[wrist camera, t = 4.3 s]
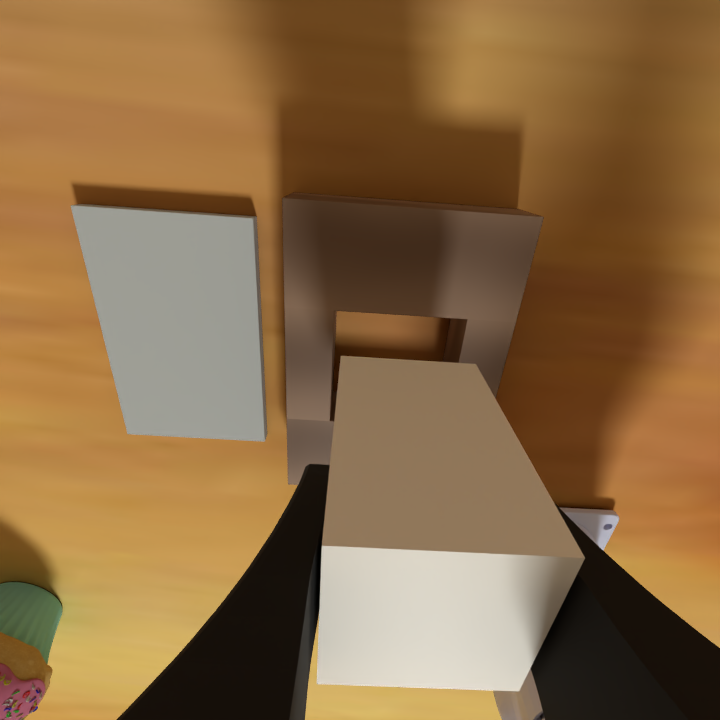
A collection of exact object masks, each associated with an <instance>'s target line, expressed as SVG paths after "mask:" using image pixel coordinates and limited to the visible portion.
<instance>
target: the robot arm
mask: <svg viewBox="0 0 720 720" xmlns="http://www.w3.org/2000/svg"><path fill="white" fill-rule="evenodd" d="M329 468H330V465H324V464H309V465H307V466H306V467H305V469H304V472H303V475H302V477H301V479H300V482H299V484H298V486H297V488H296V490H295V492H294V494H293V496H292V498H291V500H290V502H289V504H288V506H287V507H286V509H285V511H284V513H283V514H282V516H281V518H280V519H279V521H278V523H277V525H276V526H275V528H274V530H273V531H272V533H271V535H270V536H269V538H268V539H267V541H266V542H265V544H264V545H263V547H262V548H261V550H260V551H259V553H258V554H257V556H256V557H255V559H254V560H253V562H252V563H251V565H250V566H249V567H248V569H247V570H246V572H245V573H244V574H243V576H242V577H241V579H240V580H239V581H238V583H237V584H236V585H235V587H234V588H233V589H232V591H231V592H230V593H229V594H228V596H227V597H226V598H225V600H224V601H223V602H222V603H221V605H220V606H219V607H218V608H217V610H216V611H215V612H214V613H213V614H212V616H211V617H210V618H209V619H208V620H207V622H206V623H205V624H204V625H203V626H202V628H201V629H200V630H199V631H198V632H197V634H196V635H195V636H194V637H193V638H192V640H191V641H190V642H189V643H188V644H187V645H186V646H185V648H184V649H183V650H182V651H181V652H180V653H179V654H178V655H177V657H176V658H175V659H174V660H173V661H172V662H171V663H170V664H169V665H168V666H167V667H166V668H165V669H164V670H163V672H162V673H161V674H160V675H159V676H158V677H157V678H156V679H155V680H154V681H153V682H152V683H151V684H150V685H149V686H148V687H147V689H146V690H145V691H144V692H143V693H142V694H141V695H140V696H139V697H138V698H137V699H136V700H135V701H134V702H133V703H132V704H131V706H130V707H129V708H128V709H127V710H126V711H125V712H124V713H123V714H122V715H121V716H120V717H119V718H118V719H117V720H305V710H306V700H307V689H308V679H309V671H310V664H311V657H312V651H313V645H314V639H315V633H316V627H317V621H318V615H319V609H320V581H321V552H322V538H323V528H324V518H325V508H326V498H327V488H328V478H329ZM554 504H555V503H554ZM555 505H556V504H555ZM556 507H557V509H558V511H559V513H560V514H561V516H562V518H563V520H564V521H565V523H566V525H567V527H568V529H569V530H570V532H571V534H572V536H573V537H574V539H575V541H576V543H577V545H578V546H579V548H580V550H581V552H582V553H583V555H584V557H585V559H584V561H583V563H582V565H581V567H580V569H579V571H578V573H577V575H576V577H575V579H574V581H573V583H572V586H571V588H570V590H569V592H568V594H567V596H566V598H565V600H564V602H563V604H562V606H561V608H560V610H559V612H558V614H557V616H556V618H555V620H554V622H553V624H552V626H551V628H550V630H549V632H548V634H547V636H546V638H545V640H544V642H543V644H542V646H541V648H540V650H539V652H538V654H537V656H536V658H535V660H534V662H533V664H532V666H531V668H530V670H529V672H528V674H527V676H526V678H525V680H524V682H523V684H522V686H521V688H520V690H519V691H494V690H493V693H494V697H495V701H496V704H497V707H498V710H499V713H500V716H501V718H502V720H720V648H719V647H717V646H716V645H715V644H714V643H712V642H711V641H710V640H708V639H707V638H706V637H704V636H703V635H702V634H700V633H699V632H698V631H697V630H695V629H694V628H693V627H692V626H690V625H689V624H688V623H687V622H685V621H684V620H683V619H682V618H680V617H679V616H678V615H677V614H675V613H674V612H673V611H672V610H670V609H669V608H668V607H667V606H665V605H664V604H663V603H662V602H661V601H659V600H658V599H657V598H656V597H655V596H653V595H652V594H651V593H650V592H649V591H647V590H646V589H645V588H644V587H643V586H642V585H641V584H639V583H638V582H637V581H636V580H635V579H634V578H633V577H632V576H631V575H629V574H628V573H627V572H626V571H625V570H624V569H623V568H622V567H620V566H619V565H618V564H617V563H616V562H615V561H614V560H613V559H612V558H611V557H609V556H608V555H607V554H606V553H605V552H604V551H603V550H604V548H605V546H606V544H607V542H608V540H609V538H610V536H611V534H612V533H613V531H614V529H615V527H616V525H617V523H618V521H619V516H618V515H617V514H616V512H615V511H612V510H599V509H579V508H559V507H558V506H557V505H556Z"/></svg>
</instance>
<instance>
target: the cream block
mask: <svg viewBox="0 0 720 720" xmlns="http://www.w3.org/2000/svg"><path fill="white" fill-rule="evenodd" d="M584 559H585V557H584V555H583V553H582V552H581V550H580V548H579V546H578V545H577V543H576V541H575V539H574V537H573V536H572V534H571V532H570V530H569V529H568V527H567V525H566V523H565V521H564V520H563V518H562V516H561V514H560V513H559V511H558V509H557V507H556V505H555V504H554V502H553V500H552V498H551V497H550V495H549V493H548V491H547V490H546V488H545V486H544V484H543V482H542V481H541V479H540V477H539V475H538V474H537V472H536V470H535V468H534V466H533V465H532V463H531V461H530V459H529V458H528V456H527V454H526V452H525V450H524V449H523V447H522V445H521V443H520V442H519V440H518V438H517V436H516V434H515V433H514V431H513V429H512V427H511V426H510V424H509V422H508V420H507V418H506V417H505V415H504V413H503V411H502V410H501V408H500V406H499V404H498V402H497V401H496V399H495V397H494V395H493V394H492V392H491V390H490V388H489V387H488V385H487V383H486V381H485V379H484V378H483V376H482V374H481V372H480V371H479V369H478V367H477V365H476V364H468V363H452V362H436V361H419V360H403V359H387V358H371V357H354V356H341V359H340V369H339V379H338V389H337V399H336V409H335V419H334V429H333V438H332V448H331V458H330V468H329V478H328V488H327V498H326V508H325V518H324V528H323V538H322V552H321V581H320V609H319V637H318V666H317V684H330V685H357V686H385V687H412V688H440V689H467V690H494V691H519V690H520V688H521V686H522V684H523V682H524V680H525V678H526V676H527V674H528V672H529V670H530V668H531V666H532V664H533V662H534V660H535V658H536V656H537V654H538V652H539V650H540V648H541V646H542V644H543V642H544V640H545V638H546V636H547V634H548V632H549V630H550V628H551V626H552V624H553V622H554V620H555V618H556V616H557V614H558V612H559V610H560V608H561V606H562V604H563V602H564V600H565V598H566V596H567V594H568V592H569V590H570V588H571V586H572V583H573V581H574V579H575V577H576V575H577V573H578V571H579V569H580V567H581V565H582V563H583V561H584Z"/></svg>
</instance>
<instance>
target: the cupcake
mask: <svg viewBox="0 0 720 720" xmlns="http://www.w3.org/2000/svg"><path fill="white" fill-rule="evenodd" d="M61 615H62V606H61V603H60V602H59V600H58V599H57V598H56V597H55V596H54V595H53V594H51V593H50V592H48V591H46V590H45V589H43V588H40V587H38V586H35V585H32V584H28V583H22V582H7V583H2V584H0V720H24V719H25V717H26V716H28V714H29V713H32V712H34V711H36V710H37V708H38V707H37V705H38V704H39V703H40V702H41V700H42V699H43V697H44V695H45V693H46V691H47V689H48V687H49V684H50V678H51V675H52V668H51V667H50V666H49V665H47V663H48V657H49V653H50V649H51V645H52V642H53V638H54V635H55V632H56V629H57V626H58V623H59V620H60V618H61ZM35 708H36V709H35Z"/></svg>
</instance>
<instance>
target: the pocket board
mask: <svg viewBox="0 0 720 720" xmlns="http://www.w3.org/2000/svg"><path fill="white" fill-rule="evenodd" d="M282 207H283V256H284V306H285V355H286V405H287V454H288V484H293V485H298V484H299V482H300V479H301V477H302V475H303V472H304V469H305V467H306V466H307V465H309V464H324V465H330V458H331V448H332V438H333V429H334V419H335V409H336V399H337V392H333V382H334V359H335V335H336V312H337V311H348V312H363V313H379V314H394V315H410V316H425V317H441V318H450V324H449V329H448V335H447V340H446V345H445V351H444V356H443V362H452V363H468V364H476V365H477V367H478V369H479V371H480V372H481V374H482V376H483V378H484V379H485V381H486V383H487V385H488V387H489V388H490V390H491V392H492V394H493V395H494V397H495V399H496V395H497V391H498V388H499V384H500V380H501V376H502V373H503V369H504V365H505V361H506V358H507V354H508V350H509V346H510V343H511V339H512V335H513V331H514V327H515V324H516V320H517V316H518V312H519V309H520V305H521V301H522V297H523V294H524V290H525V286H526V282H527V279H528V275H529V271H530V267H531V264H532V260H533V256H534V252H535V249H536V245H537V241H538V237H539V233H540V230H541V226H542V222H543V218H544V217H542V216H539V215H535V214H532V213H529V212H526V211H523V210H520V209H512V208H498V207H484V206H471V205H457V204H444V203H430V202H416V201H403V200H389V199H376V198H362V197H348V196H335V195H321V194H307V193H294V192H293V193H291V194H289V195H287V196H285V197H283V198H282Z"/></svg>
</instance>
